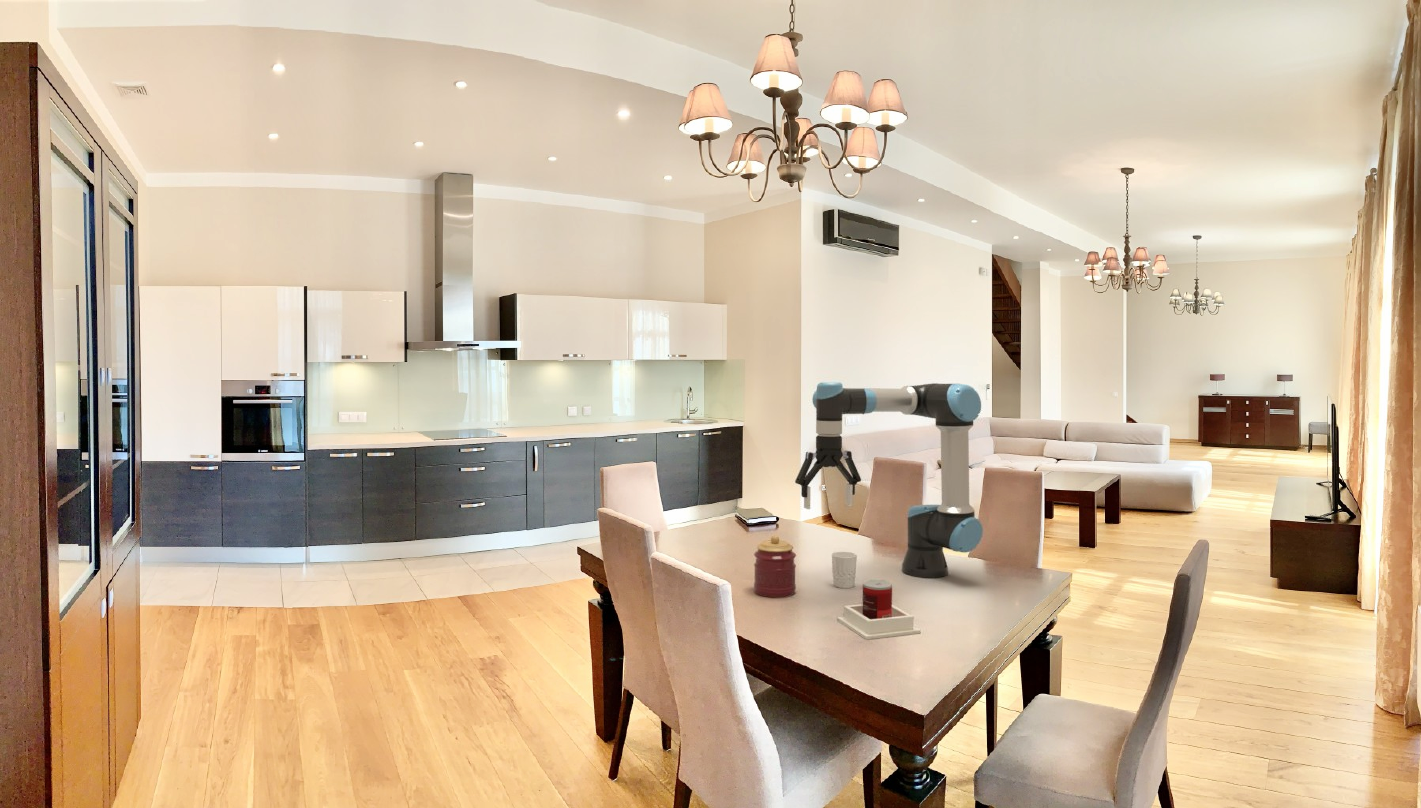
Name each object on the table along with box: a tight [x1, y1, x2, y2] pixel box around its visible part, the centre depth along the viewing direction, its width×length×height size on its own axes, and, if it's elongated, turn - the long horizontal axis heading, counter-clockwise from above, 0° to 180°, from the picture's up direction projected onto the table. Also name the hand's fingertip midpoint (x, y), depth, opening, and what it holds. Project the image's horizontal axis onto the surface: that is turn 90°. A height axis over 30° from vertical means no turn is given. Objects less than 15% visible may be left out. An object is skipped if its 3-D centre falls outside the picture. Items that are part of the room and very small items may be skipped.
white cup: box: [831, 551, 858, 589], centre depth 244 cm, size 8×8×10 cm
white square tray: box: [836, 603, 921, 640], centre depth 205 cm, size 16×16×4 cm
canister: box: [753, 535, 797, 598], centre depth 236 cm, size 13×13×18 cm
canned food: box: [862, 579, 893, 619], centre depth 204 cm, size 8×8×11 cm
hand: (828, 507), depth 223 cm, fingers open, 13 cm apart
